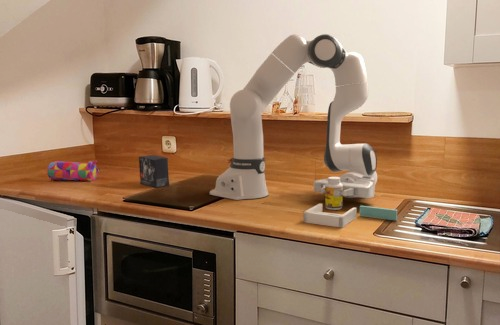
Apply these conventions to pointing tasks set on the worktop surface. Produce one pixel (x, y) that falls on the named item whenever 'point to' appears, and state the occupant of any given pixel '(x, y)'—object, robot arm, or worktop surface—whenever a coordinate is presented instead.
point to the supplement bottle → (333, 194)
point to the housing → (328, 217)
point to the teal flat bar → (378, 212)
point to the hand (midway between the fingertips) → (332, 192)
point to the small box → (154, 171)
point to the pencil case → (72, 171)
